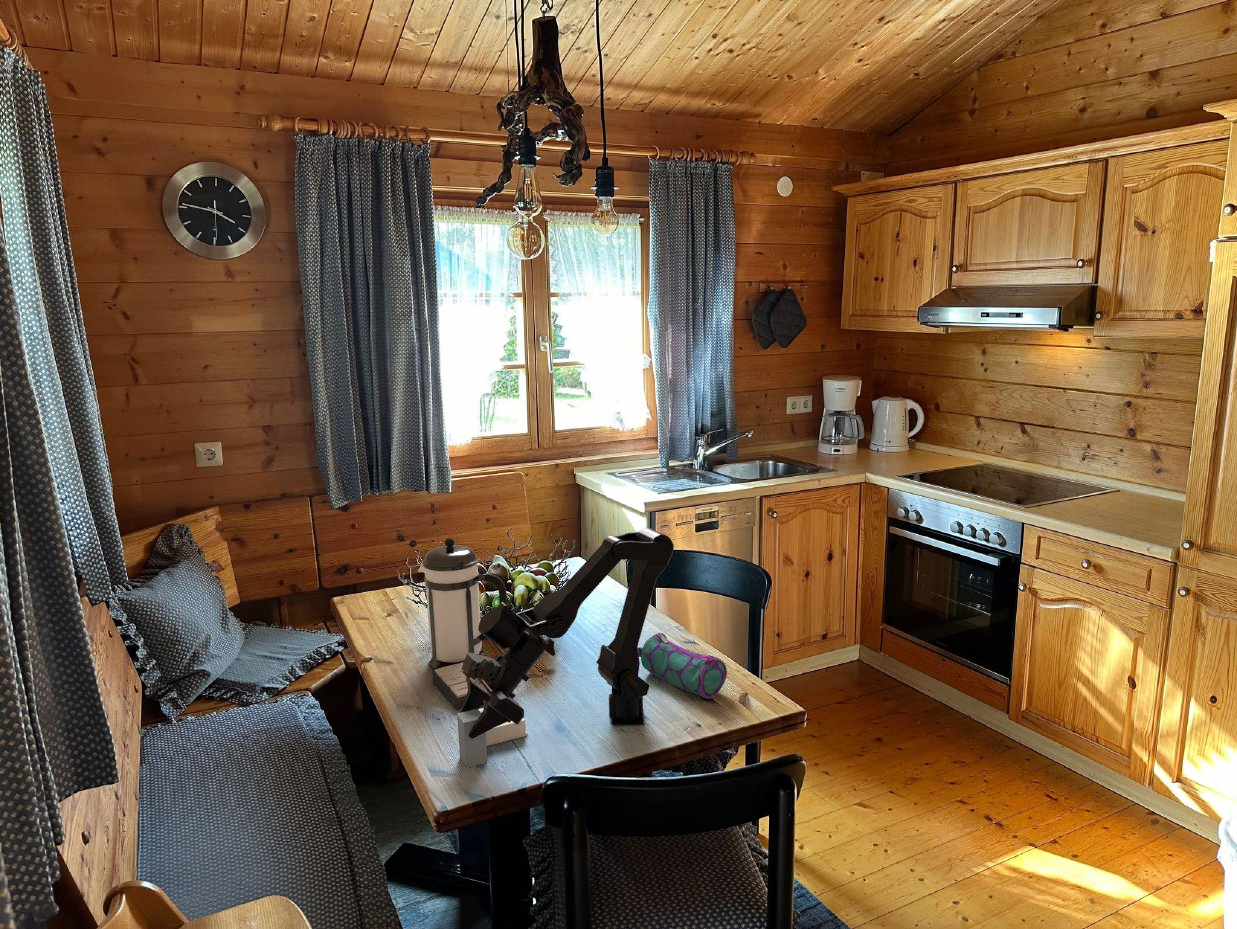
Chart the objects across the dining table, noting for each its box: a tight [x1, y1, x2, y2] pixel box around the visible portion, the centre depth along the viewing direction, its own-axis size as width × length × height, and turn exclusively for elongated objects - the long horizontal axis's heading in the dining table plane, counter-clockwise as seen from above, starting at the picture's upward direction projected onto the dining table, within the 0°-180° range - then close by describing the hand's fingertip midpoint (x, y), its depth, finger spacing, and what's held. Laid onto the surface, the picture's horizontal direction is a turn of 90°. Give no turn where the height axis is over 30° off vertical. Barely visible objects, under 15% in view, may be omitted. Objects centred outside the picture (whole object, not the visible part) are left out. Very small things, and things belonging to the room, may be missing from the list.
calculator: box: [431, 661, 490, 711], centre depth 192 cm, size 11×4×15 cm
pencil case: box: [638, 632, 728, 700], centre depth 192 cm, size 21×9×10 cm, turn 40°
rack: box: [478, 707, 529, 747], centre depth 173 cm, size 10×9×4 cm
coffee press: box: [417, 537, 508, 670], centre depth 206 cm, size 17×16×30 cm
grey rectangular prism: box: [456, 709, 488, 768], centre depth 163 cm, size 4×4×9 cm
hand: (464, 729), depth 162 cm, fingers open, 7 cm apart
